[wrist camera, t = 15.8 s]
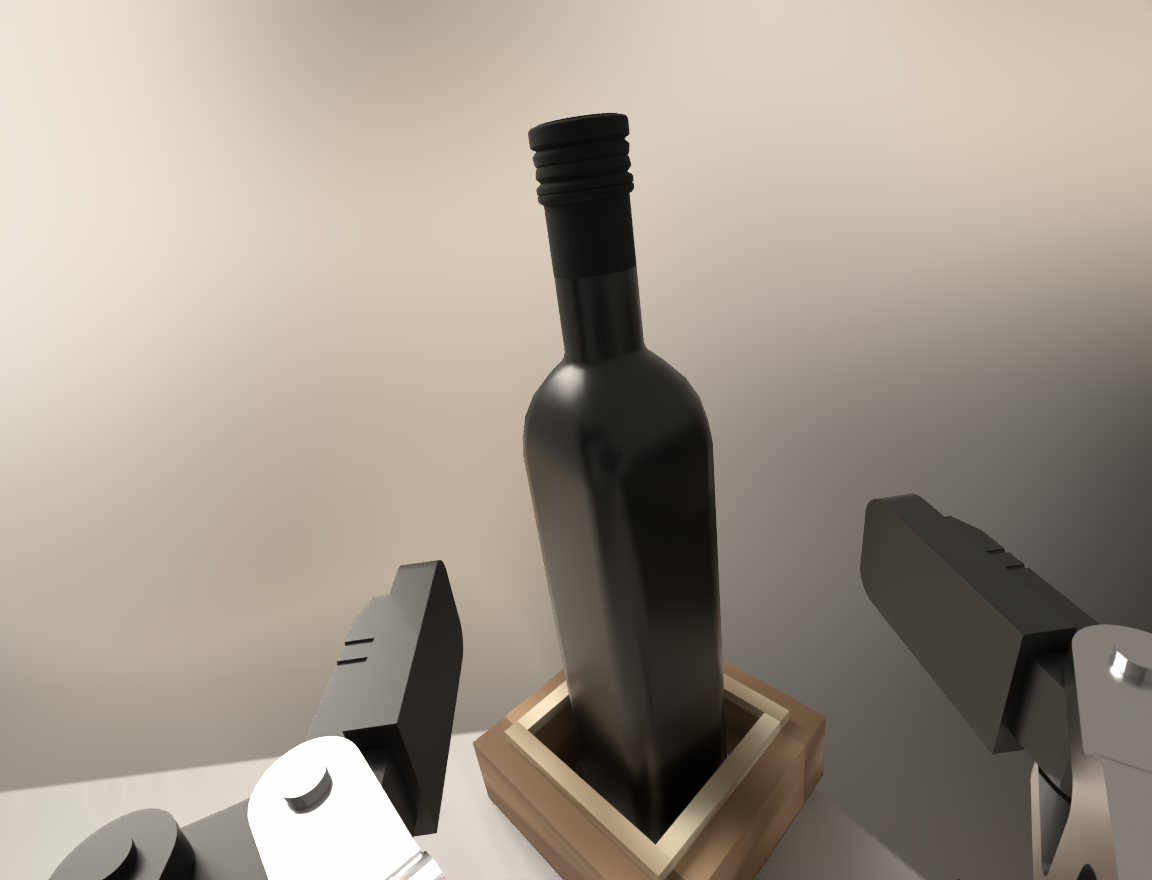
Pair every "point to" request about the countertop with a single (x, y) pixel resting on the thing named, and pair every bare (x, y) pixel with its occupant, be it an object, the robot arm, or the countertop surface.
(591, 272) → the wine bottle
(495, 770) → the square wooden picture frame
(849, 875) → the countertop surface
